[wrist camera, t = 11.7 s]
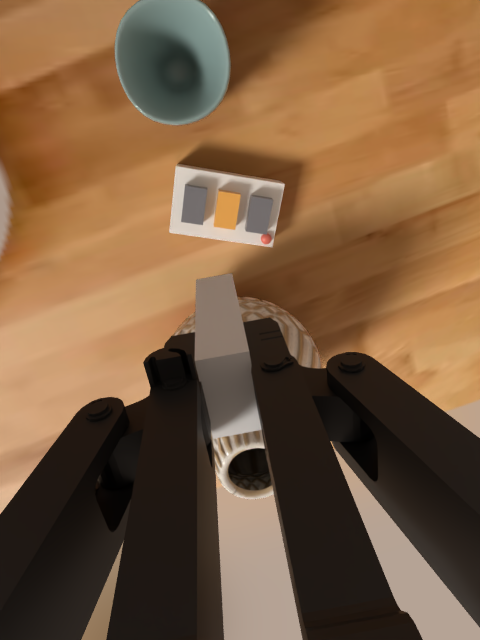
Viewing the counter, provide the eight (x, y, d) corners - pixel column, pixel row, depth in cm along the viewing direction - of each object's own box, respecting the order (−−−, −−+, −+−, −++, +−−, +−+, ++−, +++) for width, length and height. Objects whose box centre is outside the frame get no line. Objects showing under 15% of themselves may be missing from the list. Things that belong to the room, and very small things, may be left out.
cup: (215, 15, 36) (219, -22, 27) (231, 117, 39) (240, 114, 30) (124, 33, 36) (97, 1, 27) (148, 133, 39) (132, 135, 30)
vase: (333, 334, 49) (409, 455, 31) (242, 423, 53) (263, 575, 35) (228, 247, 44) (246, 332, 26) (137, 353, 48) (98, 490, 30)
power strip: (171, 225, 43) (168, 235, 39) (177, 163, 41) (175, 167, 37) (267, 239, 44) (274, 250, 41) (279, 180, 42) (287, 185, 38)
